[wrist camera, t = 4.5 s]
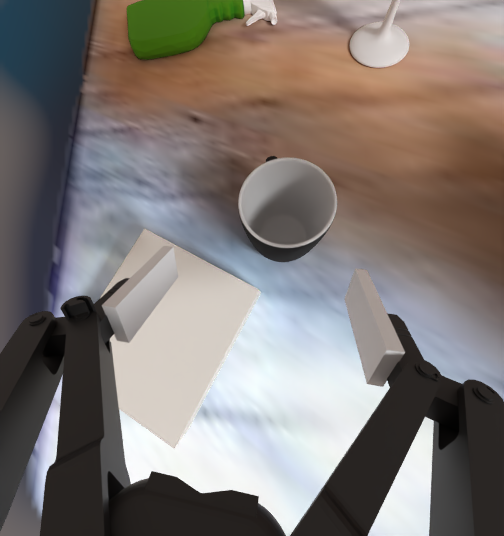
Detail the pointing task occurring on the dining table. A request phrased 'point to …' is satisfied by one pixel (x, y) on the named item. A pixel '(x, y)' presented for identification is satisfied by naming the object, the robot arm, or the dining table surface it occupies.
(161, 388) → the flat plate
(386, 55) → the wineglass
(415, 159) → the dining table surface
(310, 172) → the mug
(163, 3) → the spray bottle
